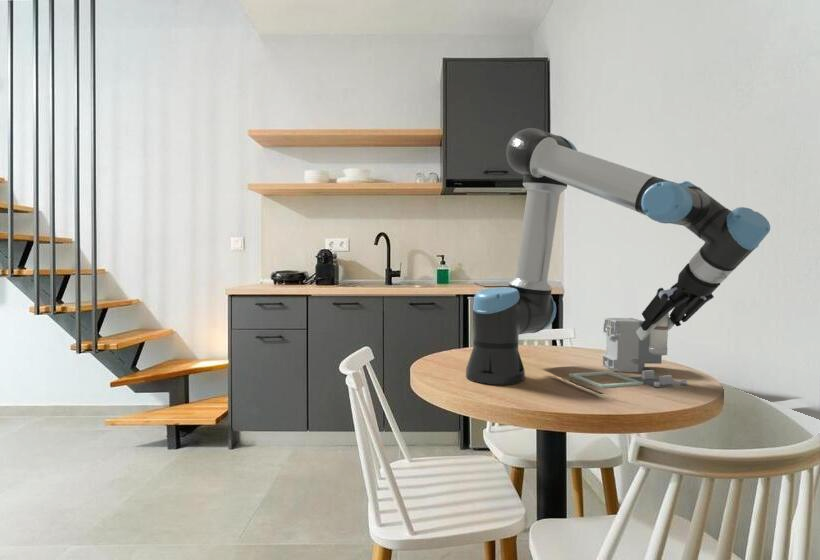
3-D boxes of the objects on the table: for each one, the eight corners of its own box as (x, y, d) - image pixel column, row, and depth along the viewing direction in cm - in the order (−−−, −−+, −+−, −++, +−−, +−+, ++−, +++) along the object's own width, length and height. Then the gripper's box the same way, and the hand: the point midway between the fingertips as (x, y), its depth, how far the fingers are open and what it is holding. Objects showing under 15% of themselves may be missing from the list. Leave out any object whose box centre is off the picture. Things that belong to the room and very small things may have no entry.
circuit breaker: (667, 377, 125) (669, 321, 124) (613, 377, 125) (614, 321, 124) (653, 371, 132) (654, 318, 131) (602, 370, 132) (603, 317, 132)
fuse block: (656, 394, 108) (656, 379, 108) (624, 383, 118) (625, 369, 118) (690, 391, 111) (690, 376, 111) (656, 381, 121) (657, 367, 121)
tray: (601, 394, 108) (601, 385, 108) (568, 381, 119) (569, 373, 119) (643, 390, 112) (643, 382, 111) (607, 378, 123) (608, 371, 123)
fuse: (657, 355, 112) (660, 305, 111) (644, 352, 116) (647, 303, 115) (671, 354, 113) (673, 305, 112) (657, 351, 117) (660, 303, 116)
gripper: (680, 285, 97) (624, 349, 114) (747, 285, 100) (683, 347, 117) (662, 259, 101) (611, 324, 118) (727, 260, 105) (668, 323, 122)
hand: (647, 335), depth 118 cm, fingers closed on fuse, 4 cm apart
